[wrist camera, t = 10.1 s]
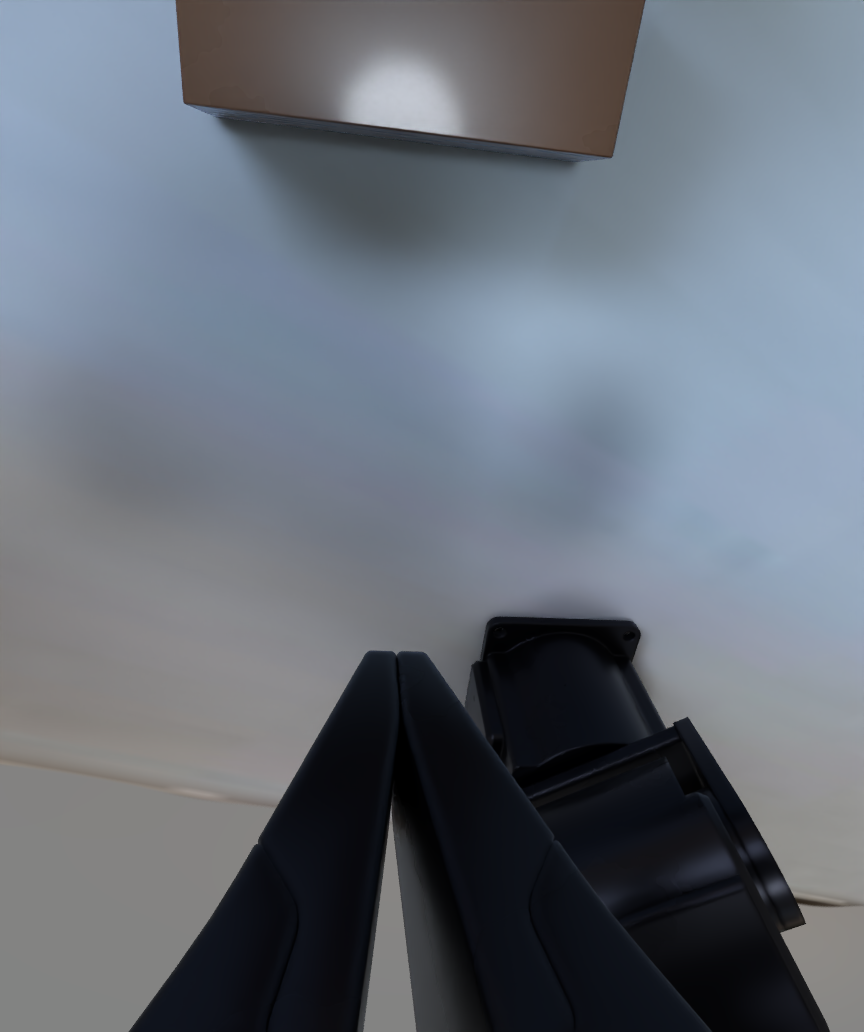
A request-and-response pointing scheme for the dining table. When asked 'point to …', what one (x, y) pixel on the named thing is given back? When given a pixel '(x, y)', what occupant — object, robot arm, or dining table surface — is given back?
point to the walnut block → (419, 69)
